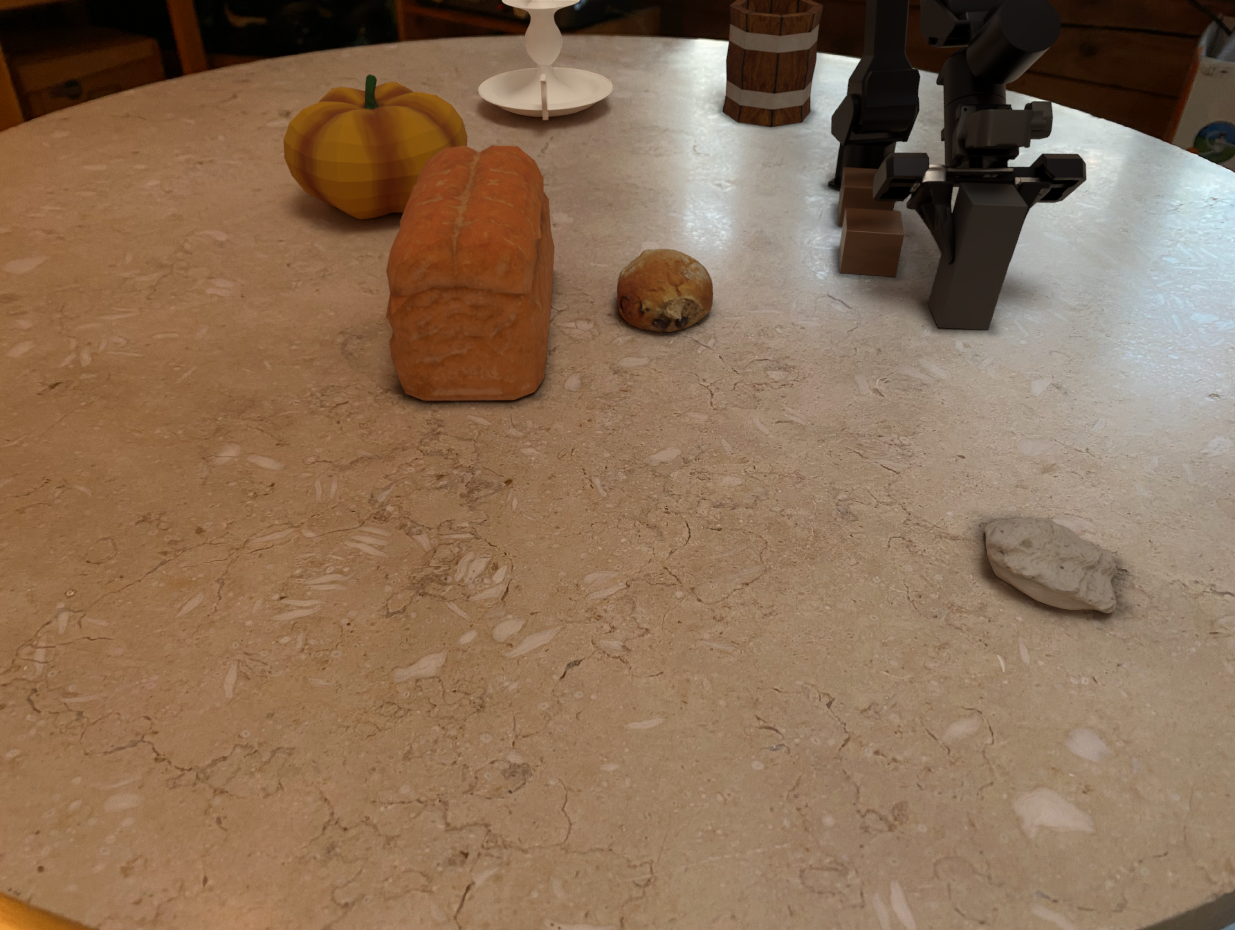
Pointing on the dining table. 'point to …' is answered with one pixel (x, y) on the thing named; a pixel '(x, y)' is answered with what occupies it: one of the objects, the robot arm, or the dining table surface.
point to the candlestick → (544, 71)
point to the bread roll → (664, 291)
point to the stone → (1051, 563)
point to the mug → (771, 60)
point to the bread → (472, 277)
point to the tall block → (977, 255)
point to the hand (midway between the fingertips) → (978, 263)
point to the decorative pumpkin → (369, 145)
